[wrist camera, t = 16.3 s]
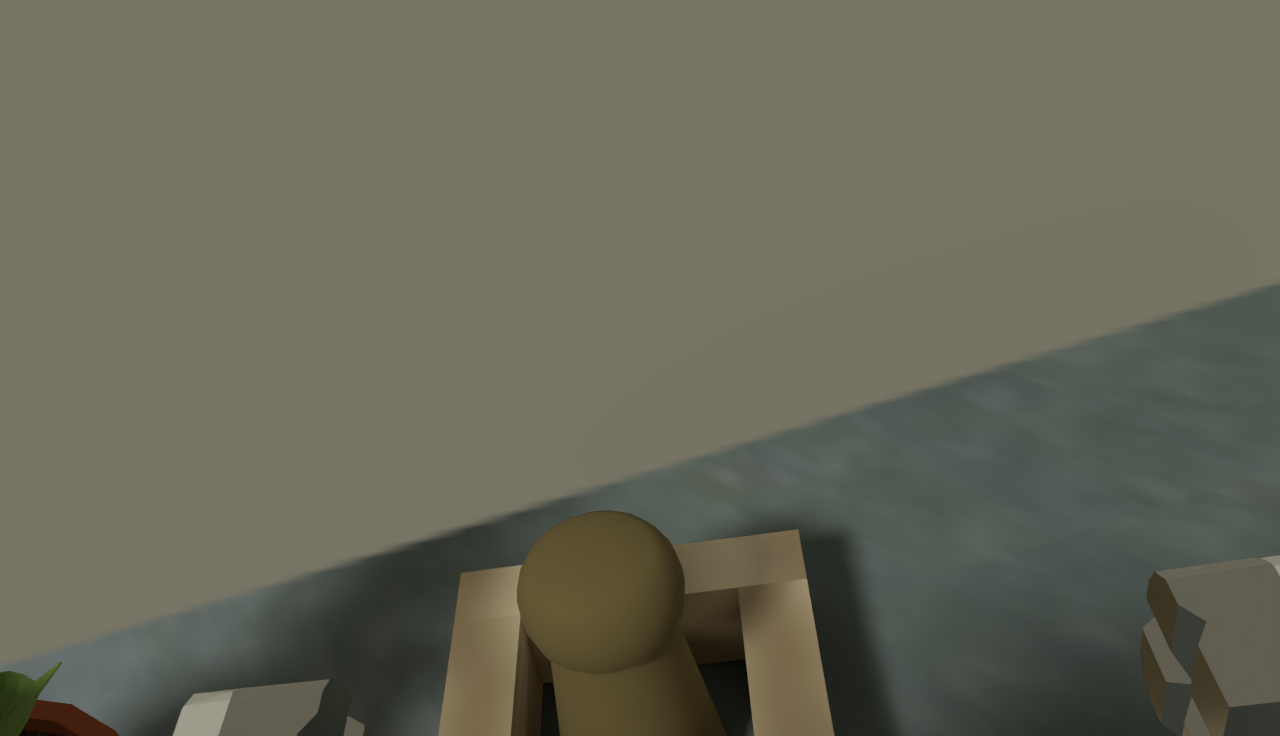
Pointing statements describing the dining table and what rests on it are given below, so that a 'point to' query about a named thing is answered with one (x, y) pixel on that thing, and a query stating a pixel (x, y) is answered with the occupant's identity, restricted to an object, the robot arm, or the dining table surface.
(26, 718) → the potted plant
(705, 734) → the cork
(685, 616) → the socket block
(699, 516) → the dining table surface
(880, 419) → the dining table surface
